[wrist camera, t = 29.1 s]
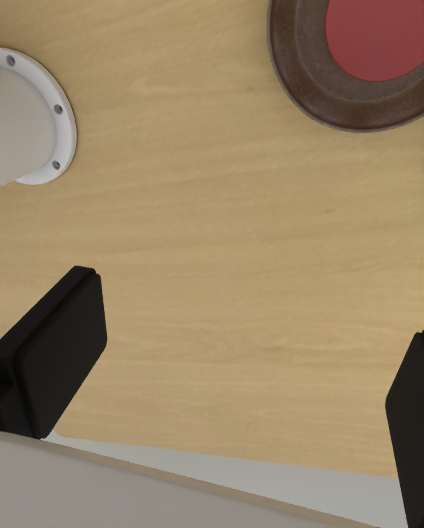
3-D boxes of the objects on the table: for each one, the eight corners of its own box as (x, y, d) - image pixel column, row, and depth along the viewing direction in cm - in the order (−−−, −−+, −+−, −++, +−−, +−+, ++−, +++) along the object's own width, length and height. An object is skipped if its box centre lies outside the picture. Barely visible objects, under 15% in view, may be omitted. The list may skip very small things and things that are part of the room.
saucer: (502, 88, 28) (517, 93, 26) (298, 149, 33) (296, 157, 31) (493, -183, 22) (512, -207, 20) (246, -53, 27) (238, -61, 25)
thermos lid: (383, -80, 23) (391, -96, 20) (467, 1, 24) (487, -3, 21) (302, 32, 27) (299, 32, 24) (377, 99, 28) (383, 107, 25)
